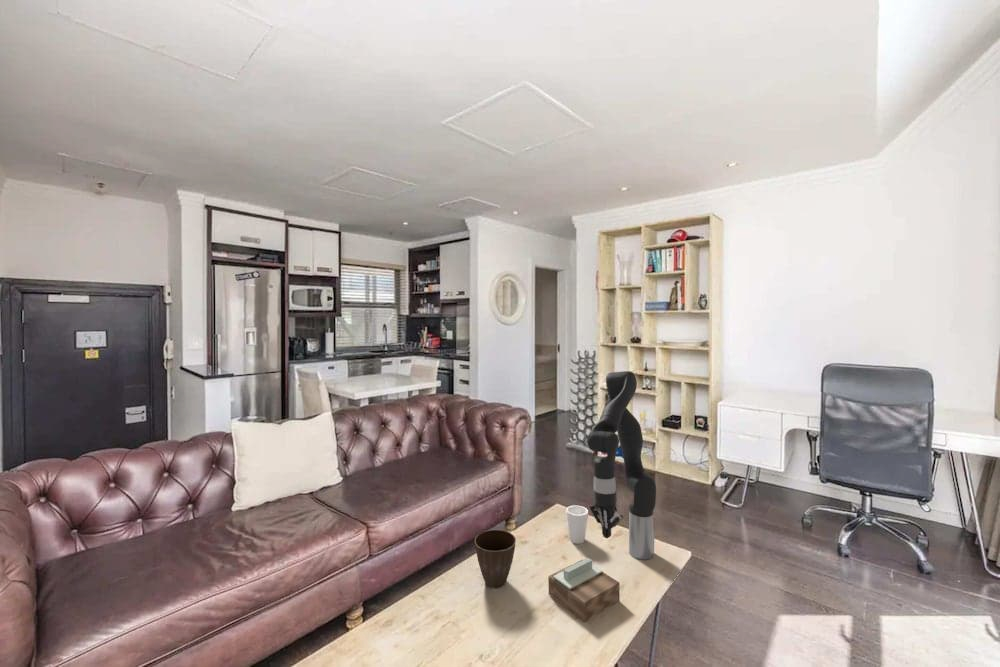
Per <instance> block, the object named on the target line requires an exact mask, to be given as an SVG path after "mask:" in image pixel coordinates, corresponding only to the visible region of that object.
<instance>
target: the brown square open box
mask: <svg viewBox="0 0 1000 667" xmlns="http://www.w3.org/2000/svg"><path fill="white" fill-rule="evenodd" d="M582 560H583V559H581V560H578V561H577V562H574V563H573V564H570V565H568V566H566V567H564V568H562V569H560V570H557V571H556V572H554V573H552V574H550V575H548V595H549V596H550V597H552V599H554V600H556V602H558V603H560V604H561V605H562V606H563V607H564V608H566V609H567V610H568V611H570V613H572V614H573V615H574V616H576V618H578V619H580V620H581V621H582V622H583V623H586V622H588V621H589V620H591V619H592V618H594V617H596V616H597V615H598V614H600V613H602V612H604V611H605V610H607V609H609V608H610V607H612V606H614V605H616V604H617V603H619V602H620V582H619V581H618V580H616V579H615V578H613V577H611V576H610V575H608V574H607V573H605V572H604V571H603V572H602V573H600V574H598V575H596V576H594V577H592V578H591V579H589V580H587V581H585V582H583V583H581V584H579V585H577V586H576V587H574V588H572V589H568V588H567V587H566V586H564V585H563V584H561V583H560V582H559V581H557V580H556V579H555V578H553V576H554V575H556V574H558V573H560V572H562V571H564V569H566V568H568V567H570V566H572V565H574V564H576V563H578V562H580V561H582Z"/></svg>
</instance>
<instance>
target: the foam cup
mask: <svg viewBox="0 0 1000 667" xmlns="http://www.w3.org/2000/svg"><path fill="white" fill-rule="evenodd" d="M565 516H566V523H567V528H568V529H567V530H568V535H569V541H570V542H571V543H573V544H576V545H577V544H578V545H579V544H582V543H584V542H585V540H586V539H585V538H586V532H587V525H588V518H589V510H588V509H587V508H586V507H584V506H581V505H569V506H567V508H566V509H565Z"/></svg>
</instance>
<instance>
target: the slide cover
mask: <svg viewBox="0 0 1000 667" xmlns="http://www.w3.org/2000/svg"><path fill="white" fill-rule="evenodd" d="M581 560H582V561H580V560H579V561H580V562H578V561H577V562H578V563H576V562H575V563H576V564H574V563H573V564H574V565H572V564H571V565H572V566H570V565H569V566H570V567H568V566H567V567H568V568H566V567H565V568H566V569H564V568H563V569H564V571H562V572H560V573H558V574H556V575H554V576H553V578H555V579H556V580H557V581H559V582H560V583H561V584H563V585H564V586H566V587H567V588H568V589H572V588H574V587H576V586H577V585H579V584H581V583H583V582H585V581H587V580H589V579H591V578H592V577H594V576H596V575H598V574H600V573H602V572H604V571H603V569H601V568H599V567H598V566H596V565H594V564H593V559H591V558H589V557H586V558H585V559H581Z"/></svg>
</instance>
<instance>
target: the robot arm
mask: <svg viewBox="0 0 1000 667" xmlns="http://www.w3.org/2000/svg"><path fill="white" fill-rule="evenodd" d="M605 377H606V378H605V386H606V389H607V390H606V391H607V394H608V397H609V400H610V402H609V403H607V404H606V406H605V407H604V408H603V410H602V412H601V414H600V417H599V420H598V421H597V423H596V424H595V425H594V426H593V428H592V429H590V431H589V433H588V435H587V438H586V445H587V447H588V449H589V450H591V451H592V452H599V453H605V454H606V455H605V456H599V457H597V458H595V459H593V496H594V497H593V498H594V499H593V500H594V504H593V505H591V506H589V509H590V511H591V513H592V515H593V517H594V519H595V521H596V523H598V524H600V526H601V532H602V533H601V534H602V537H603V538H605V539H609V538H611V536H612V529H613V528H615V527H617V525H618V524H619V523H620V522H621V521H622V520H623V515H621V514H619V513H618V508H617V481H616V477H615V476H616V474H615V473H616V472H615V469H616V468H615V465H616V464H615V463H616V462H615V461H616V457H617V453H618V448H619V446H620V450H621V454H622V458H623V464H624V465H623V466H624V473H625V474H624V475H625V482H626V485H627V487H628V489H629V490H630V492H632V493H633V501H631V502H630V503H629V507H628V514H629V517H628V527H629V529H628V534H629V535H628V538H629V539H628V548H629V549H628V552H629V554H630V555H631V557H633V558H635V559H638V560H650V559H651V558H653V557H654V554H655V530H654V509H655V507H656V503H657V502H656V499H657V486H656V482H655V480H654V479H653V478H652V477H651V476H650V475H649V474H647V473H646V472H645V470H644V465H643V461H642V450H643V444H644V439H643V434H642V433H643V432H642V428H641V424H640V423H639V421H638V420H637V418H636V417H635V416H634V415H633V414H632V413H631V412H630V410H629V409H628V408H627V407H628V405H629V404H630V402H631V400H632V399H633V397H634V395H635V393H636V390H637V384H638V381H637V378H636V375H635V373H634V372H633V371H630V370H628V371H624V370H623V371H614V372H608V373H607V374H606V376H605Z"/></svg>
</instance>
